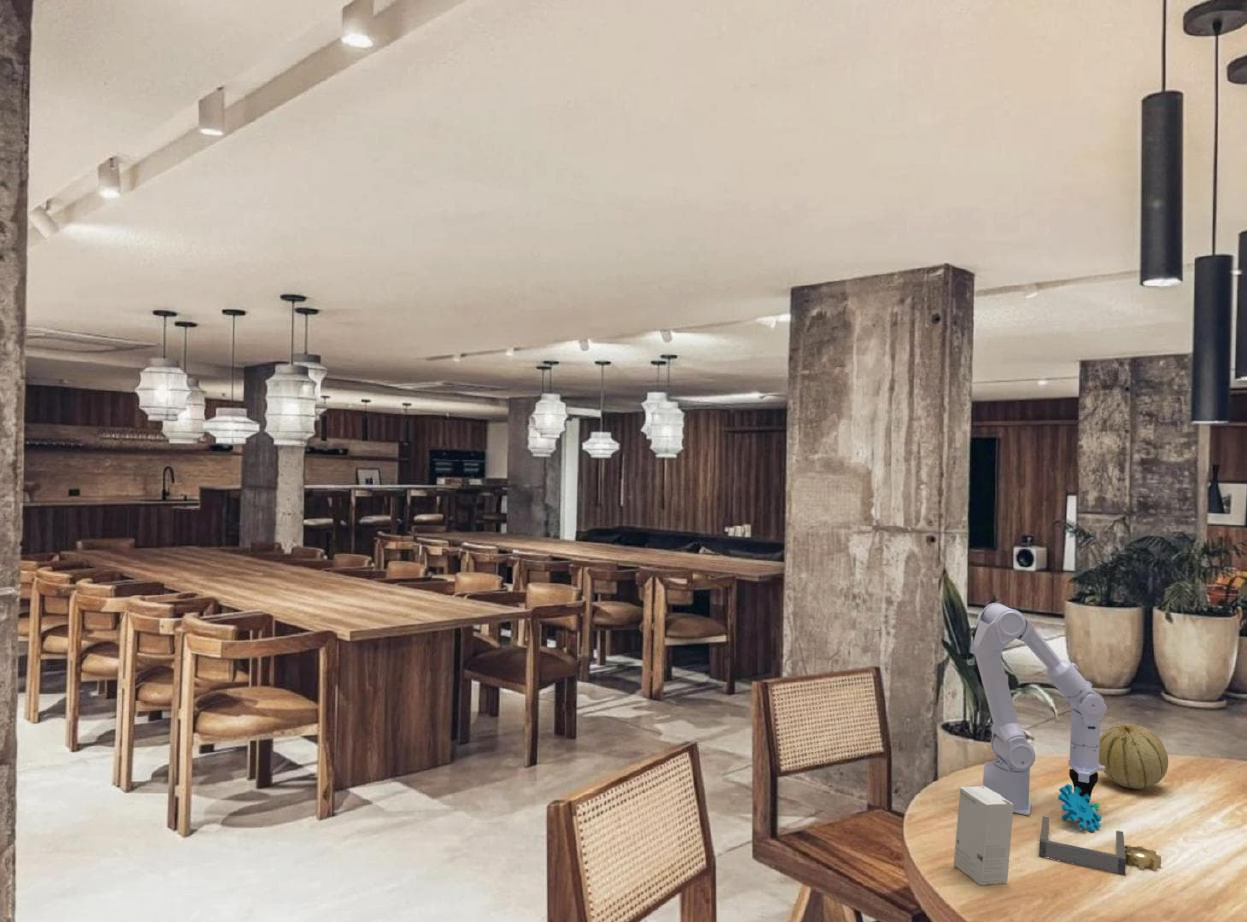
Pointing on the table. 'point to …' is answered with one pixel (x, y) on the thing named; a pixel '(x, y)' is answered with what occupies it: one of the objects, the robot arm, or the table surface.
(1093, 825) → the gear
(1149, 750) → the cantaloupe
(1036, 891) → the table surface
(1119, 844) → the bracket
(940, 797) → the table surface
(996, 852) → the skincare box
